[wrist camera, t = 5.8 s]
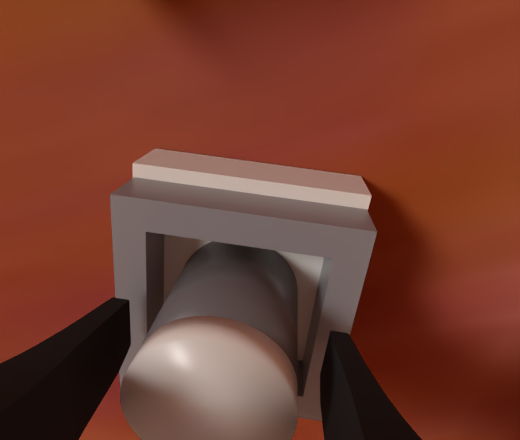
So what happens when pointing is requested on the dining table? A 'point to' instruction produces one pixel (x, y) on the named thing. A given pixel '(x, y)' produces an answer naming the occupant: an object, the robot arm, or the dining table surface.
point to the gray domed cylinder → (219, 352)
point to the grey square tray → (244, 240)
